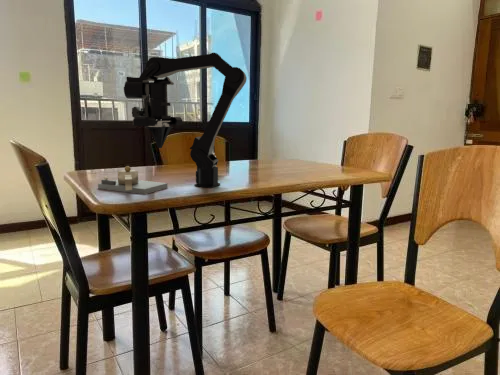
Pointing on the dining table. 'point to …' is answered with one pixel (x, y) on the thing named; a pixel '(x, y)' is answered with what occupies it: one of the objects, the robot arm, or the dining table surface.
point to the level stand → (139, 187)
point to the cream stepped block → (128, 177)
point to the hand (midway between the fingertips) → (159, 148)
